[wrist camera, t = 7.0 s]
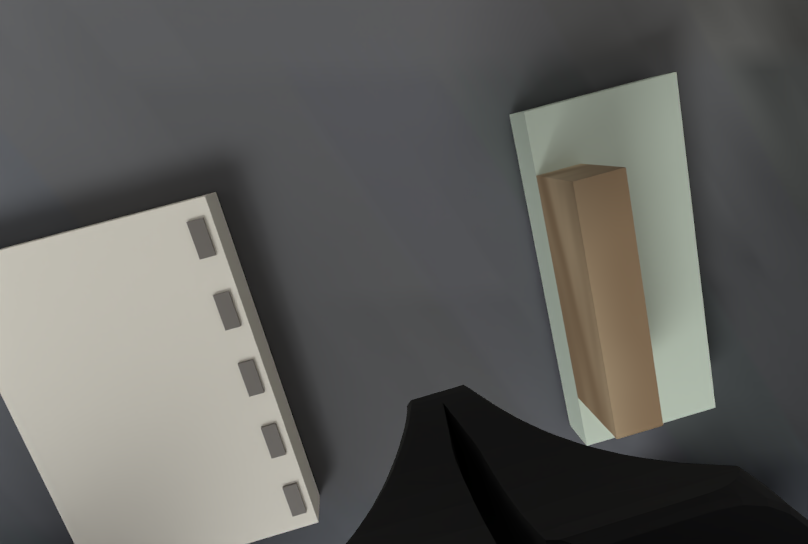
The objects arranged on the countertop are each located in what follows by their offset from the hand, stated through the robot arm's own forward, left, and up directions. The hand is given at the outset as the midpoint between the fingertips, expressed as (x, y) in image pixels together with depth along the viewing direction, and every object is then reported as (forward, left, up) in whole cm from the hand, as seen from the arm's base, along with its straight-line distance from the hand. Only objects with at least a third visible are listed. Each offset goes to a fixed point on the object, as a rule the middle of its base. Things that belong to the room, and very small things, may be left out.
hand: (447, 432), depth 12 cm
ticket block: (-9, 0, -8) cm, 12 cm away
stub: (+8, 0, -8) cm, 11 cm away
